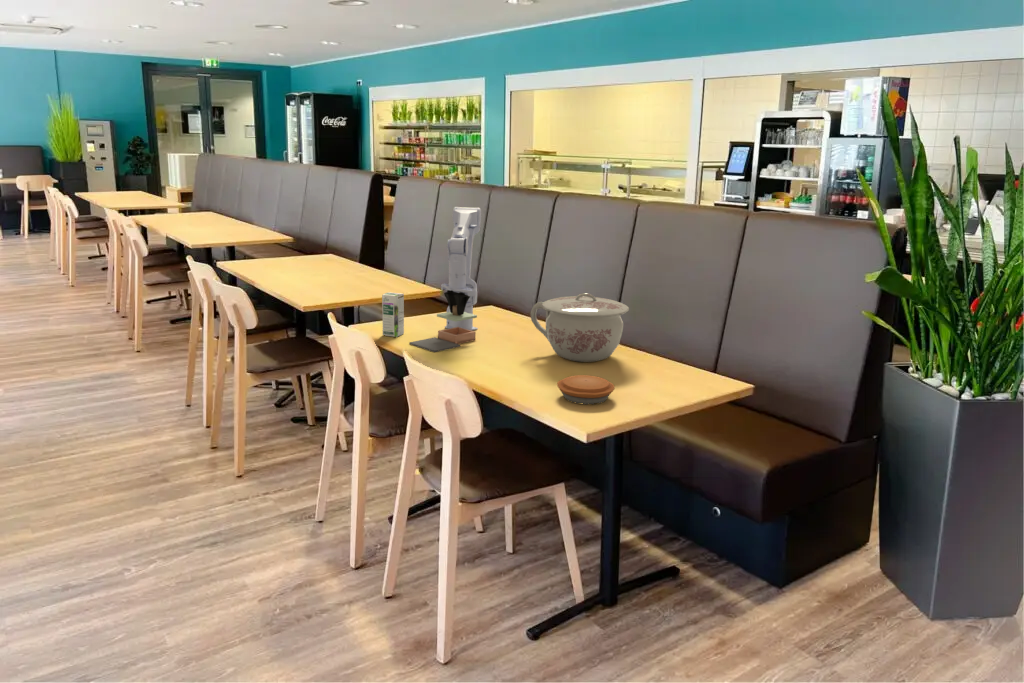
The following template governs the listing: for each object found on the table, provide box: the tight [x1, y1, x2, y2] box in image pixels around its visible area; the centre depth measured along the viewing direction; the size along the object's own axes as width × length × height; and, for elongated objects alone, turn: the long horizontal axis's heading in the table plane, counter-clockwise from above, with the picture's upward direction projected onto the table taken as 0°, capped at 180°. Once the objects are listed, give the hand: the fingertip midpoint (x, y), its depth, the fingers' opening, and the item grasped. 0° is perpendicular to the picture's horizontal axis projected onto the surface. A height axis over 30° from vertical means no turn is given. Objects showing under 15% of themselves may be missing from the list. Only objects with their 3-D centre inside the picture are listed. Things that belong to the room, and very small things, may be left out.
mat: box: [408, 336, 461, 353], centre depth 257 cm, size 13×11×1 cm
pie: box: [556, 374, 615, 405], centre depth 209 cm, size 15×16×5 cm
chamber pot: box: [530, 292, 630, 363], centre depth 246 cm, size 28×28×21 cm
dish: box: [437, 327, 476, 345], centre depth 264 cm, size 9×9×3 cm
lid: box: [436, 305, 478, 322], centre depth 262 cm, size 10×10×4 cm
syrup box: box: [381, 291, 405, 338], centre depth 267 cm, size 6×6×14 cm
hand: (457, 313), depth 262 cm, fingers closed on lid, 3 cm apart
